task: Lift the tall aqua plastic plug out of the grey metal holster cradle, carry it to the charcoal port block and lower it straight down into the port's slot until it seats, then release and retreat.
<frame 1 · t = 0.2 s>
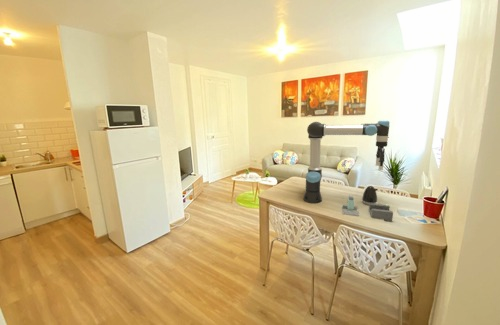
hand: (378, 167, 164), 28 cm above the table, fingers open, 13 cm apart
port: (379, 216, 145), on the table
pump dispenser: (369, 204, 163), on the table
plug: (350, 211, 151), point 1 cm above the table, touching holster
holster: (349, 213, 151), on the table
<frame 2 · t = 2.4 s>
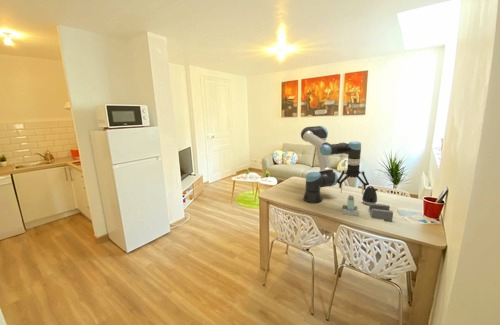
hand: (351, 193, 147), 16 cm above the table, fingers open, 13 cm apart
nothing on the table moved.
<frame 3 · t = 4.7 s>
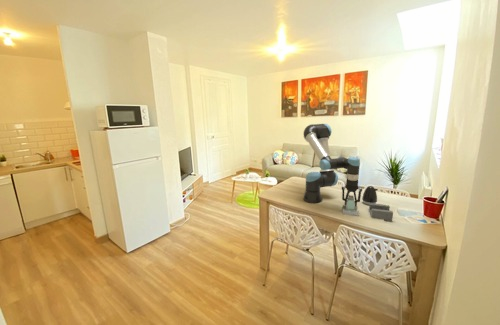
hand: (350, 209, 150), 3 cm above the table, fingers closed on plug, 4 cm apart
plug: (350, 211, 151), point 1 cm above the table, touching gripper, holster
everything else where it was.
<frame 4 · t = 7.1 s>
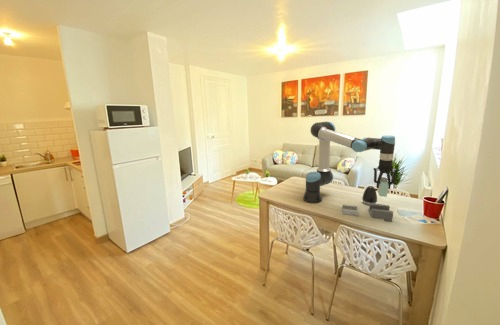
hand: (382, 192, 140), 18 cm above the table, fingers closed on plug, 4 cm apart
plug: (382, 195, 141), point 16 cm above the table, touching gripper
everything else where it was.
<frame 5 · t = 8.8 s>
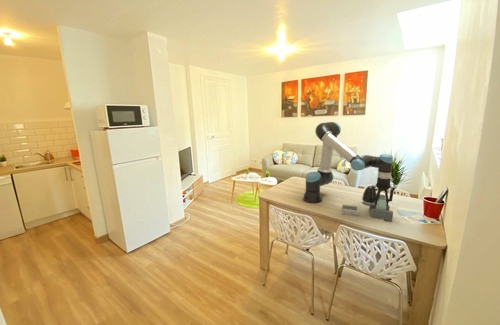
hand: (380, 209, 143), 5 cm above the table, fingers closed on plug, 4 cm apart
plug: (380, 211, 144), point 3 cm above the table, touching gripper
everything else where it was.
when the fingers open (4 cm above the table, at t = 10.0 s): plug drops 1 cm, resting on port.
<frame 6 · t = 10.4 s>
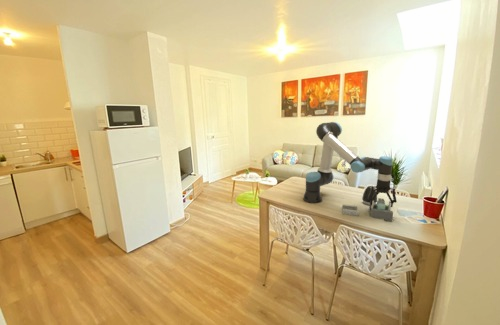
hand: (380, 210, 144), 5 cm above the table, fingers open, 9 cm apart
plug: (379, 215, 144), resting on port
everything else where it was.
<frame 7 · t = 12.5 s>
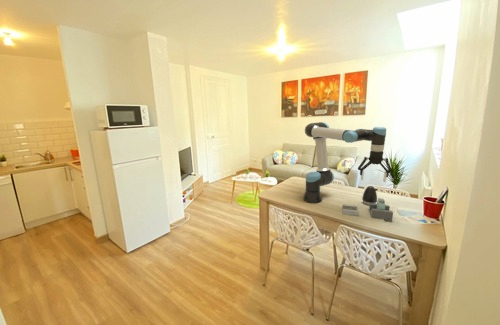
hand: (372, 180, 143), 25 cm above the table, fingers open, 13 cm apart
nothing on the table moved.
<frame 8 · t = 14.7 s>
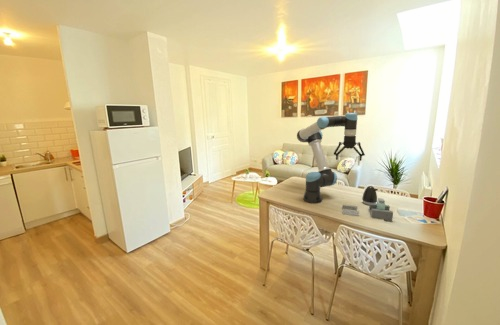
hand: (348, 164, 150), 35 cm above the table, fingers open, 13 cm apart
nothing on the table moved.
at the end: plug 0.1 cm off-centre on the port, point 0.5 cm above the port's base; plug tilted 0°; the gripper is holding nothing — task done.
